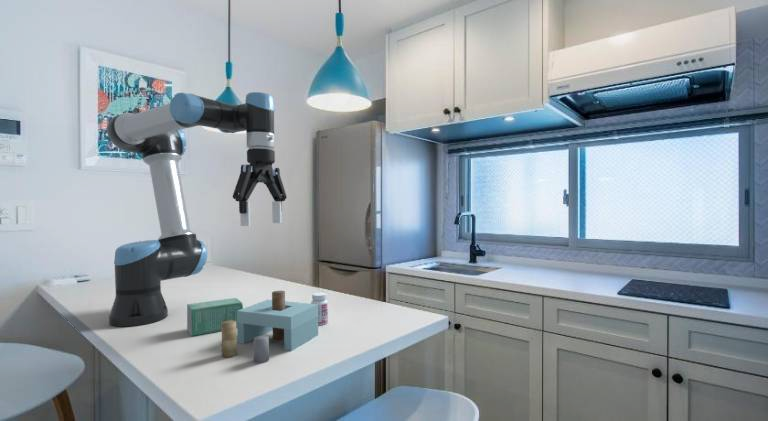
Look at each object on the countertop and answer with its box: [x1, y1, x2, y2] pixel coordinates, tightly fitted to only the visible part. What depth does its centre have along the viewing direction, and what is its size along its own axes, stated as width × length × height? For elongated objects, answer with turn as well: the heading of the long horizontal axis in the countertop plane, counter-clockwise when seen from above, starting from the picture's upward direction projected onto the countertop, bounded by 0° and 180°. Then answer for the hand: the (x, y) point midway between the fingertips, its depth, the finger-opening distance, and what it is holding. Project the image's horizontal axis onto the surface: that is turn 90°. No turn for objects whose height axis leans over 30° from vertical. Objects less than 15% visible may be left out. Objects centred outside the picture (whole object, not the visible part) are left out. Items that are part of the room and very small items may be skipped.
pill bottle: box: [310, 292, 329, 326], centre depth 114 cm, size 5×5×8 cm
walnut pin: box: [271, 290, 286, 342], centre depth 102 cm, size 3×3×12 cm
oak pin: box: [221, 321, 238, 359], centre depth 91 cm, size 3×3×8 cm
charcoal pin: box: [253, 335, 270, 364], centre depth 88 cm, size 3×3×5 cm
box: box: [186, 297, 244, 337], centre depth 111 cm, size 7×14×8 cm, turn 125°
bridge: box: [237, 299, 319, 352], centre depth 102 cm, size 16×12×8 cm
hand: (262, 224), depth 112 cm, fingers open, 13 cm apart
